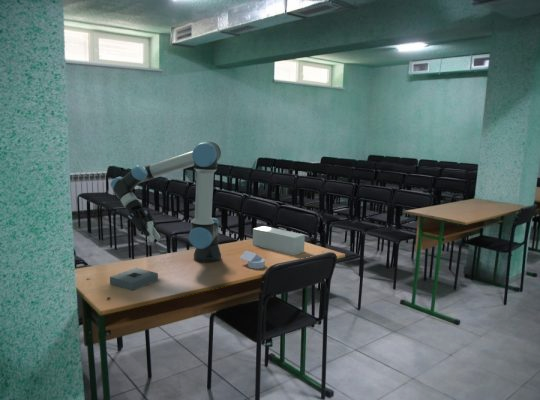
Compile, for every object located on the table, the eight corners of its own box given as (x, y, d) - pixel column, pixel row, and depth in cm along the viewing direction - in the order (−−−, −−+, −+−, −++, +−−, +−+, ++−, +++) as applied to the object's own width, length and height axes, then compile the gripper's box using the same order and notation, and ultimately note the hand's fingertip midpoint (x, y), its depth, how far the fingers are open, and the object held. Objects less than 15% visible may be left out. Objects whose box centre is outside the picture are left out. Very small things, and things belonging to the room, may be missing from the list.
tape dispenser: (239, 263, 234) (256, 269, 225) (239, 251, 233) (256, 257, 224) (251, 260, 240) (268, 266, 232) (251, 248, 239) (268, 254, 230)
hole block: (136, 274, 211) (136, 267, 211) (157, 280, 205) (157, 273, 204) (110, 284, 198) (109, 276, 197) (132, 290, 191) (132, 283, 190)
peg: (150, 243, 222) (149, 220, 220) (155, 244, 220) (154, 221, 218) (145, 244, 219) (145, 221, 217) (150, 245, 217) (150, 222, 215)
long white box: (252, 245, 273) (252, 228, 271) (262, 242, 281) (263, 225, 279) (294, 255, 254) (294, 237, 252) (304, 251, 262) (304, 234, 260)
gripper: (139, 205, 231) (163, 240, 226) (115, 210, 217) (140, 247, 212) (146, 196, 228) (171, 232, 222) (122, 201, 214) (148, 238, 208)
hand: (156, 239), depth 217 cm, fingers closed on peg, 3 cm apart
